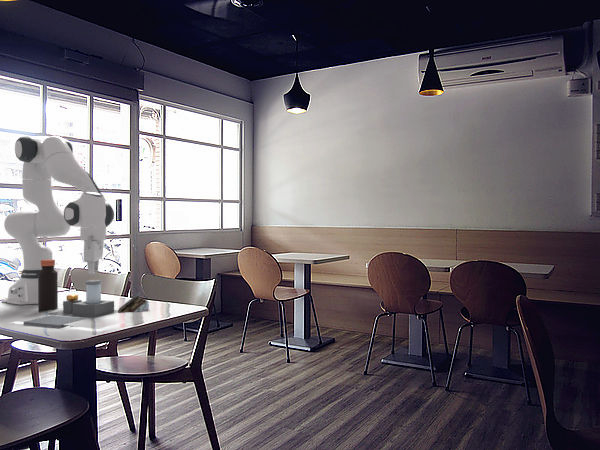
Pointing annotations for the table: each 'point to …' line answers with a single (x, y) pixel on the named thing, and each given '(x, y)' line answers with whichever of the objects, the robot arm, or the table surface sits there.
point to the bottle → (47, 286)
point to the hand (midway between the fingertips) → (93, 272)
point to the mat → (52, 321)
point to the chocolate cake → (135, 305)
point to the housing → (86, 309)
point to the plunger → (72, 297)
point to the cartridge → (93, 291)
